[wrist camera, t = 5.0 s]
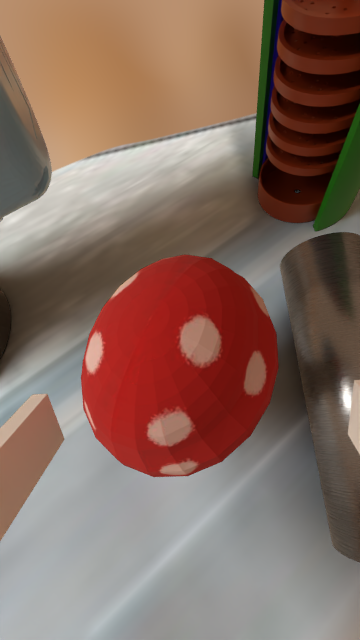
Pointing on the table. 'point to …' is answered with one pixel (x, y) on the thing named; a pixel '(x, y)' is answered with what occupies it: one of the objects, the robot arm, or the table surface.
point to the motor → (308, 110)
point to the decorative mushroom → (179, 366)
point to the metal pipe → (329, 367)
